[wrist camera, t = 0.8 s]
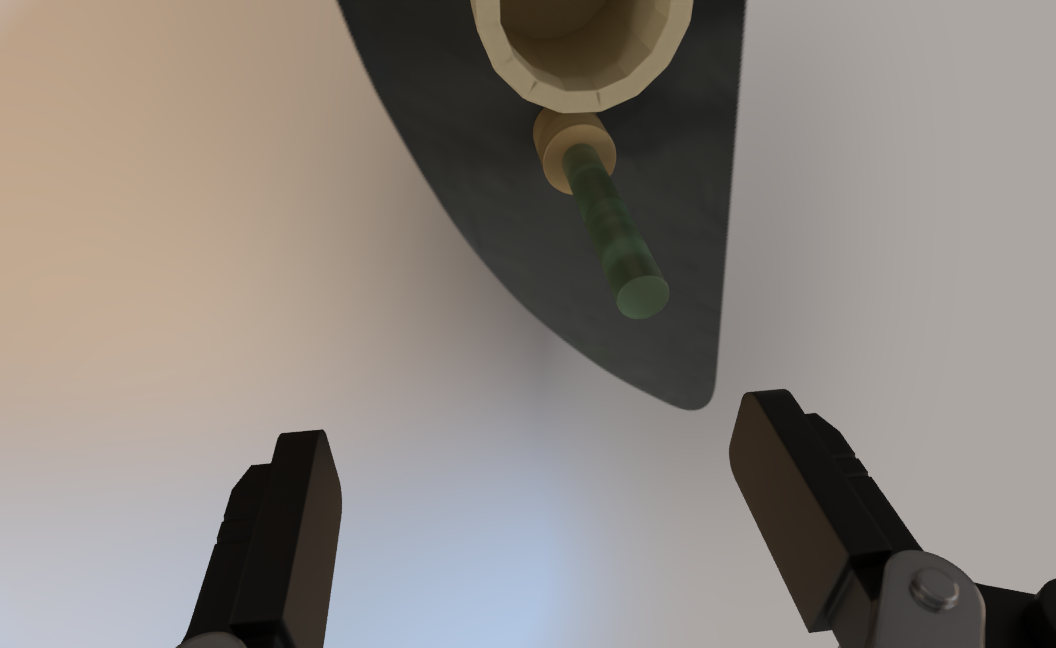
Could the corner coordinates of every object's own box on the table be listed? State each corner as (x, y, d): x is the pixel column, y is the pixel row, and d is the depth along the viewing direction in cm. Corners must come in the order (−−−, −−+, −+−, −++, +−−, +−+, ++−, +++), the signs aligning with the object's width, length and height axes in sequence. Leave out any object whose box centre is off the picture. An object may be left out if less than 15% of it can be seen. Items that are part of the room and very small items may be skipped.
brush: (548, 86, 36) (621, 238, 22) (610, 111, 37) (715, 268, 23) (522, 150, 38) (573, 326, 24) (581, 171, 39) (662, 349, 25)
